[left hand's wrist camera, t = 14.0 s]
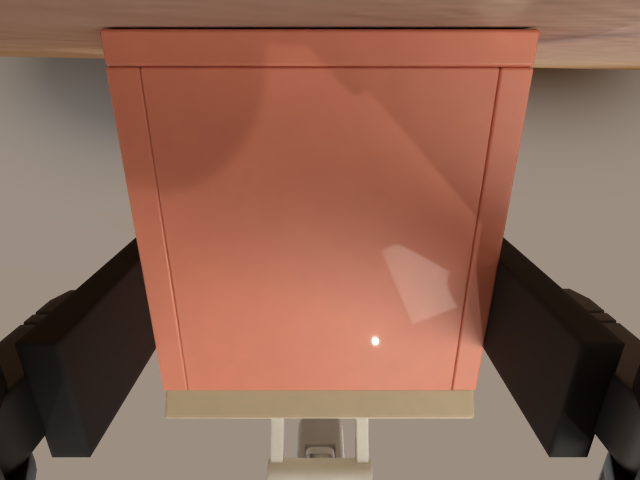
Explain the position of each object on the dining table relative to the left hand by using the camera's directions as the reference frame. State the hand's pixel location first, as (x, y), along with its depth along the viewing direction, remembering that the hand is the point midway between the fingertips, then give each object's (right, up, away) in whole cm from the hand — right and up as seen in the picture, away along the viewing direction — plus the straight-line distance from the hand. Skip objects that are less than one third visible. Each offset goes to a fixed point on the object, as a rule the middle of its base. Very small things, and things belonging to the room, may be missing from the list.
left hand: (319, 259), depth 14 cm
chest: (0, +8, +1) cm, 8 cm away
